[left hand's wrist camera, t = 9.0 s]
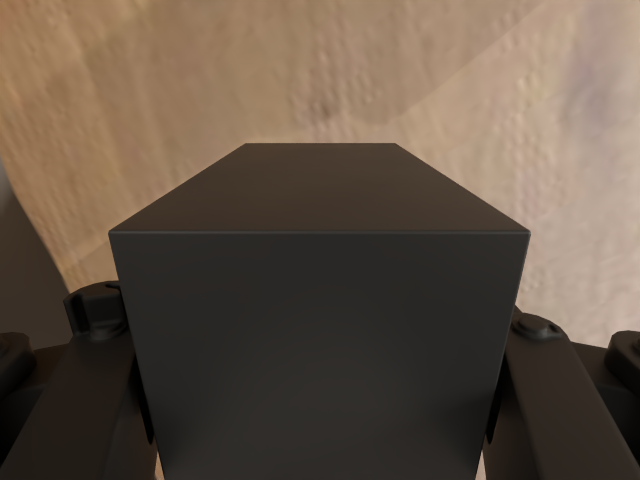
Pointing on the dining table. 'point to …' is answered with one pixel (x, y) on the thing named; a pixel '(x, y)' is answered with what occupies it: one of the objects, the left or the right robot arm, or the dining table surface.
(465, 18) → the dining table surface
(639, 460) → the left robot arm
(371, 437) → the bar
